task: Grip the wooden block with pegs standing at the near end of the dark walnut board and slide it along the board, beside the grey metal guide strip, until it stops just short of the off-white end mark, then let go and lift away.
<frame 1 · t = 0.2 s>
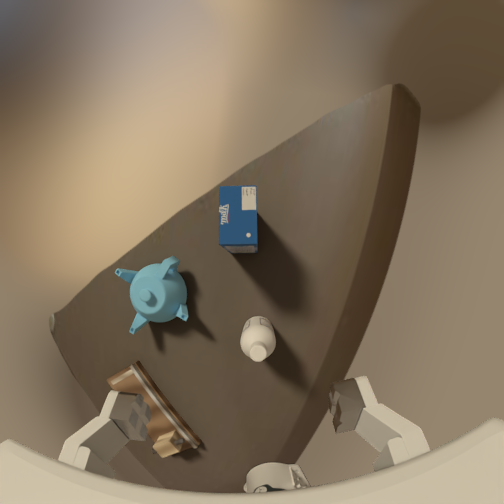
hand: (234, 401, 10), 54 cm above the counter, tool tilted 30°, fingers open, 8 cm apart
walnut board: (153, 410, 62), on the counter
milk carton: (244, 232, 66), on the counter
wooden block with pegs: (171, 438, 59), point 2 cm above the counter, touching walnut board
bath foam: (258, 330, 64), on the counter
teapot: (161, 293, 65), on the counter
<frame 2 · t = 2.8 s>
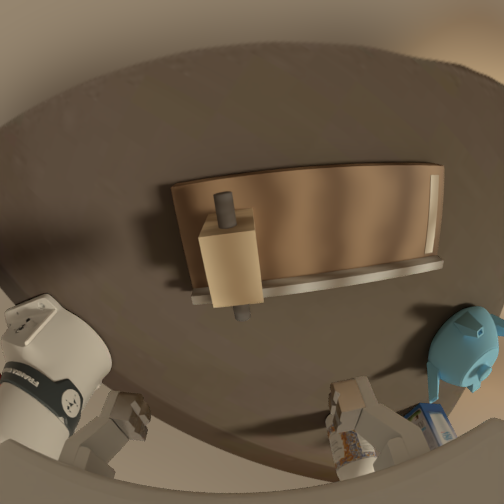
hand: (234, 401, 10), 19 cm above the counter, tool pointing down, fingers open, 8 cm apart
walnut board: (323, 224, 28), on the counter
milk carton: (420, 411, 46), on the counter
wooden block with pegs: (235, 241, 26), point 2 cm above the counter, touching walnut board
bath foam: (342, 414, 42), on the counter
teapot: (454, 333, 36), on the counter
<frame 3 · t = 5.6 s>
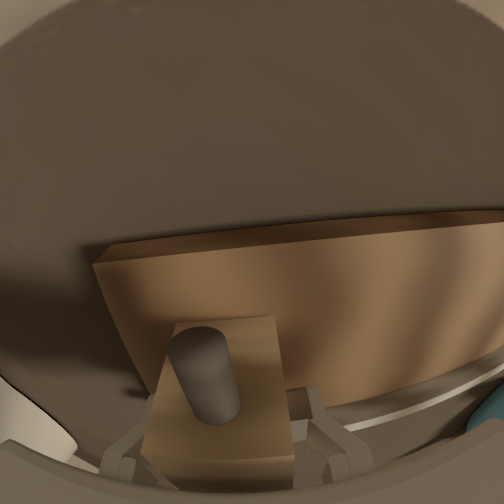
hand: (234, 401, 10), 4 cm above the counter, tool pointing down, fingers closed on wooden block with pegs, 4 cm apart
walnut board: (396, 317, 14), on the counter
wooden block with pegs: (234, 369, 12), point 2 cm above the counter, touching gripper, walnut board
teapot: (496, 397, 22), on the counter
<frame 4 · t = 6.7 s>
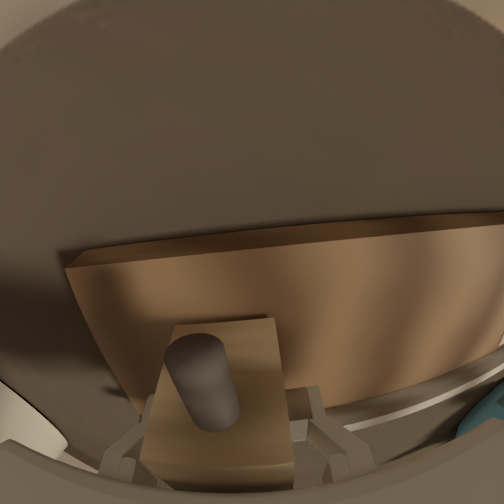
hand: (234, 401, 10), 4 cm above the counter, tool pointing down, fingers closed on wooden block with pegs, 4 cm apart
walnut board: (369, 324, 14), on the counter
wooden block with pegs: (234, 371, 12), point 2 cm above the counter, touching gripper
teapot: (488, 402, 23), on the counter
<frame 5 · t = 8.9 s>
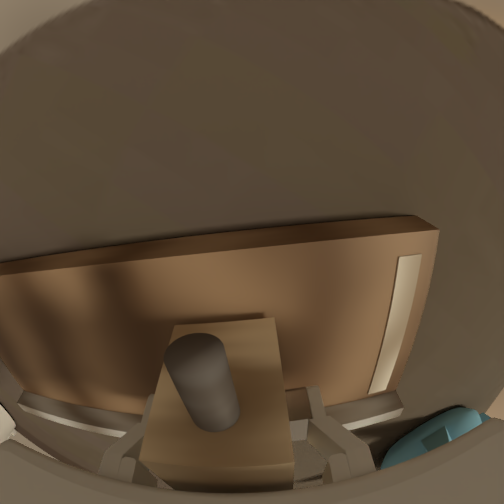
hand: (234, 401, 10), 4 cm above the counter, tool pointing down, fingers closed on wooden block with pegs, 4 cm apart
walnut board: (153, 344, 14), on the counter
wooden block with pegs: (234, 371, 12), point 2 cm above the counter, touching gripper
teapot: (426, 433, 23), on the counter
when the fingers open (4 cm above the counter, at t = 11.3 s): wooden block with pegs stays where it is, resting on walnut board.
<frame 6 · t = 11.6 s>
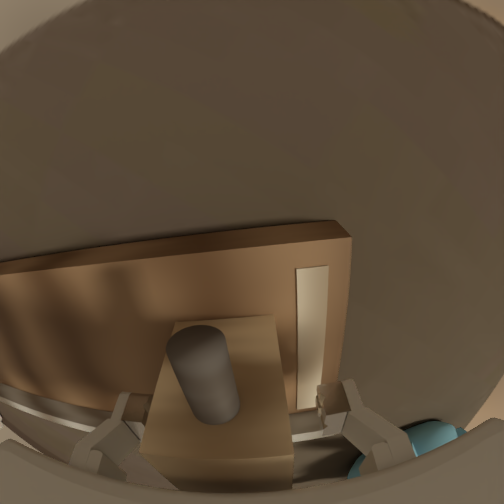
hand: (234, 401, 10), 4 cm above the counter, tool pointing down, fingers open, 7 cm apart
walnut board: (90, 343, 14), on the counter
wooden block with pegs: (233, 368, 12), point 2 cm above the counter, touching walnut board
teapot: (398, 445, 23), on the counter
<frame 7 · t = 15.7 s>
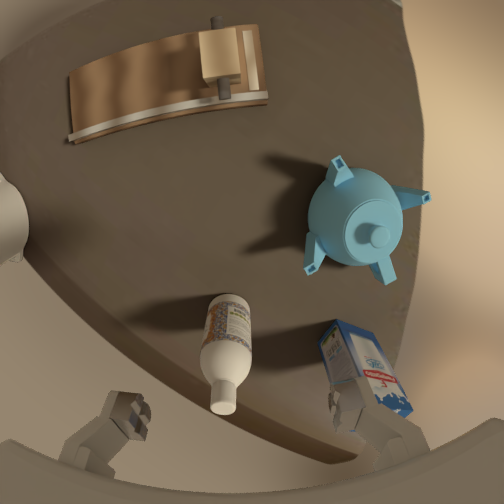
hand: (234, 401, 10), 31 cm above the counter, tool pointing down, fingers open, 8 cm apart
walnut board: (160, 80, 31), on the counter
milk carton: (345, 337, 49), on the counter
wooden block with pegs: (223, 64, 29), point 2 cm above the counter, touching walnut board
bath foam: (229, 309, 46), on the counter
teapot: (348, 210, 40), on the counter
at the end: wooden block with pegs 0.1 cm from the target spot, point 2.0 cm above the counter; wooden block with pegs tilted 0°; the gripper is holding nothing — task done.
